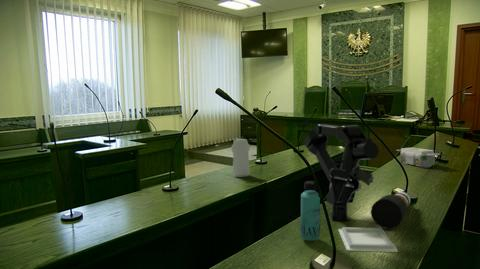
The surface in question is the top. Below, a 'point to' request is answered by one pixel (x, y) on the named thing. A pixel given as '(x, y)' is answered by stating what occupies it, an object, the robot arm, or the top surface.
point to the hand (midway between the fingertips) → (340, 203)
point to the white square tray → (366, 239)
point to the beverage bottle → (310, 212)
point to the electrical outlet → (418, 157)
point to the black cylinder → (390, 210)
